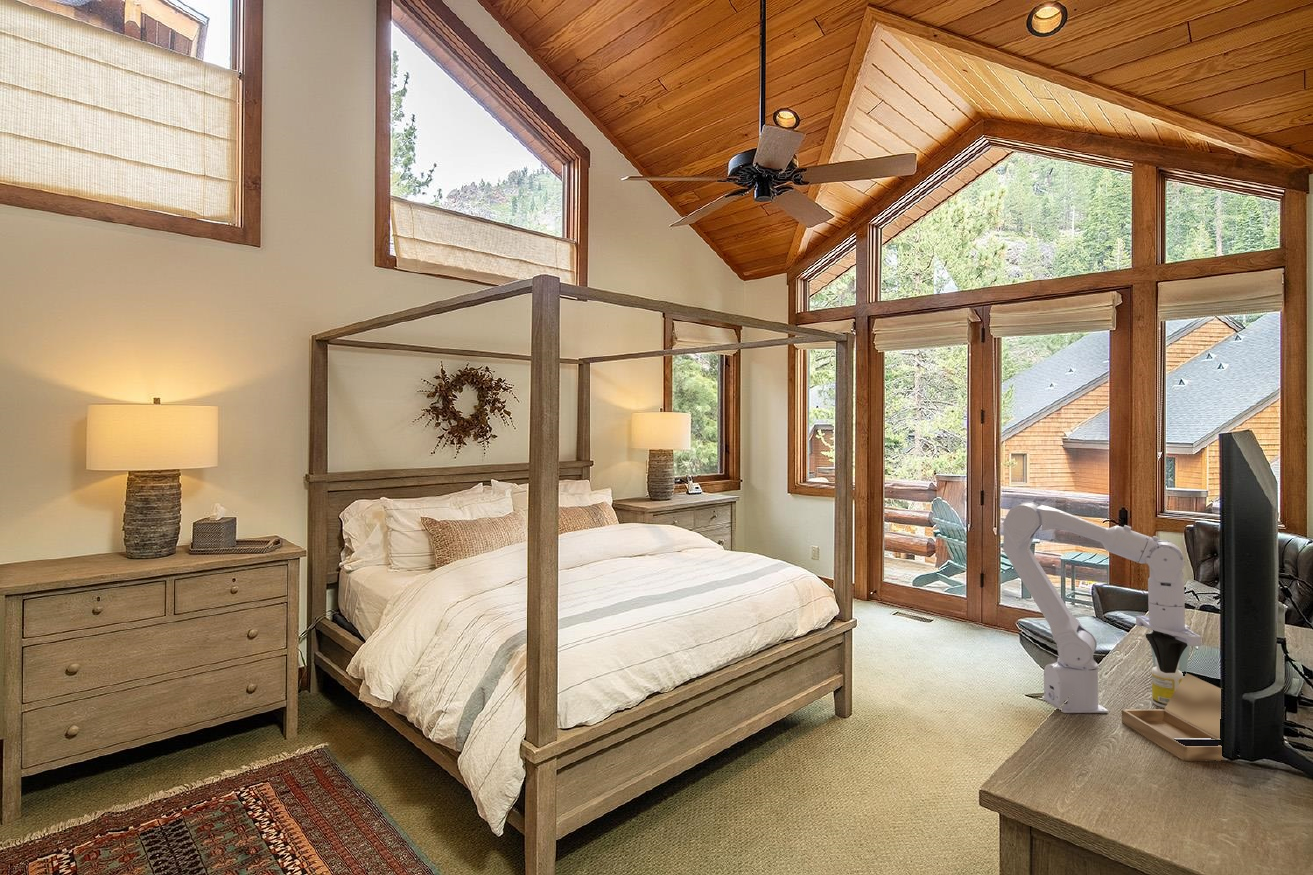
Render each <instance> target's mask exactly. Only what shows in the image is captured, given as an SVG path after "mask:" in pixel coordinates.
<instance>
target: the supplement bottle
mask: <svg viewBox="0 0 1313 875" xmlns="http://www.w3.org/2000/svg"><path fill="white" fill-rule="evenodd" d="M1155 663H1156V665H1157V666H1156V667H1154V666H1153V667H1152V668H1151V695H1152V696H1151V698H1152V703H1153V704H1154V705H1155V706H1158V707H1160V708H1163V709H1165V707H1166V705H1167V704H1168V702H1169V700H1170V699H1171V697H1172V695H1173V694H1174V692H1175V691H1176V689H1177V687H1178V686H1179V684H1180V682H1181V681H1182V679H1183V677H1184V676H1183V673H1182V672H1181V671H1179V670H1178V668H1179V662H1178V665H1177V669H1176V672H1175V673H1164V672H1162V671H1160V668H1159V665H1158V662H1157V658H1155Z"/></svg>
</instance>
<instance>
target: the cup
mask: <svg viewBox="0 0 1313 875" xmlns="http://www.w3.org/2000/svg"><path fill="white" fill-rule="evenodd" d="M1152 632H1153V631H1150V632H1149V633H1148V634H1151V633H1152ZM1190 647H1191V646H1189V645H1188V646H1187V647H1186V648H1185V650H1184V651H1183V653H1182V655H1181V657H1180V659H1179V668H1178V670H1179V671H1181V672H1184V671H1186V672H1187V669H1188V662H1189V655H1190V654H1189V652H1190ZM1150 650H1151V658H1152V663H1153V668H1154V667H1156V666H1157V665H1156V663H1155V658H1156V656H1155V653H1154V650H1153V648H1152V646H1151V645H1150Z"/></svg>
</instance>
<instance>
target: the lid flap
mask: <svg viewBox="0 0 1313 875" xmlns="http://www.w3.org/2000/svg"><path fill="white" fill-rule="evenodd" d="M1221 689H1222V688H1221V687H1219V686H1217V685H1214V684H1212V683H1209V682H1207V681H1205V680H1202V679H1200V678H1198V677H1197V676H1194V675H1192V674H1189V673H1187V672H1186V674H1185V676H1184V677H1183V679H1182V681H1181V682H1180V684H1179V686H1178V687H1177V689H1176V691H1175V692H1174V694H1173V695H1172V697H1171V699H1170V700H1169V702H1168V704H1167V705H1166V707H1165V708H1164V709H1165V710H1167V711H1168V712H1170V713H1172V714H1174V715H1176V716H1178V717H1179V718H1181V719H1183V720H1185V721H1187V722H1189V723H1190V724H1192V725H1194V726H1196V727H1198V728H1200V729H1201V730H1203V731H1205V732H1207V733H1209V734H1211V735H1212V736H1214V737H1216V738H1218V739H1220V719H1221ZM1220 740H1221V739H1220Z"/></svg>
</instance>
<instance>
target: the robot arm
mask: <svg viewBox="0 0 1313 875" xmlns="http://www.w3.org/2000/svg"><path fill="white" fill-rule="evenodd" d="M1002 525H1003V542H1002V544H1003V546H1002V548H1003V553H1004V554H1005V556H1006V557H1007V559H1008V560H1009V562H1010V563H1011V565H1012V567H1013V569H1014V570H1015V571H1016V574H1017V575H1018V576H1019V578H1020V579H1021V581H1022V583H1023V585H1024V586H1025V588H1026V589H1027V591H1028V593H1029V594H1030V596H1031V598H1032V599H1033V601H1034V603H1035V604H1036V606H1037V607H1038V609H1039V611H1040V612H1041V614H1042V615H1043V617H1044V619H1045V620H1046V622H1047V623H1048V626H1049V627H1050V628H1049V629H1050V631H1051V635H1052V637H1053V639H1054V641H1055V644H1056V648H1057V654H1058V657H1057V661H1056V662H1053V663H1048V664H1046V665H1045V667H1044V669H1043V696H1041V699H1042V700H1044V701H1045V702H1047V703H1048V704H1049V705H1051V706H1053V707H1054V708H1056V709H1057V710H1058V708H1059V707H1060V706H1061V705H1062V704H1063V703H1064V702H1065V701H1066V700H1067V699H1068V701H1067V702H1066V703H1064V705H1063V706H1061V708H1062V710H1061V709H1060V710H1061V711H1060V710H1059V711H1060V712H1062V713H1064V714H1083V713H1084V714H1085V713H1086V714H1089V713H1090V714H1091V713H1092V714H1097V713H1099V714H1100V713H1103V714H1106V713H1107V714H1108V713H1109V710H1108V708H1105V707H1104V706H1103V705H1100V704H1099V671H1098V670H1099V668H1098V667H1099V666H1098V663H1097V662H1096V660H1095V659H1094V654H1095V652H1096V650H1097V640H1096V638H1095V636H1094V634H1093V633H1092V632H1090V631H1089V630H1087V629H1086V628H1085V627H1084V626H1082V624H1081V623H1080V621H1079V620H1078V619H1077V618H1076V617H1075V616H1074V615H1073V614H1072V612H1071V611H1070V610H1069V608H1068V606H1067V605H1066V603H1065V602H1064V599H1062V597H1061V596H1060V594H1059V592H1058V591H1057V589H1056V588H1055V586H1054V584H1053V583H1052V581H1051V580H1050V578H1049V576H1048V575H1047V573H1046V572H1045V570H1044V569H1043V567H1042V565H1041V564H1040V562H1039V560H1038V558H1036V556H1035V554H1034V553H1033V551H1032V549H1031V545H1032V544H1033V540H1034V538H1035V535H1036V533H1037V532H1038V531H1039V530H1040V528H1041V530H1042V531H1049V530H1055V529H1056V530H1057V529H1060V530H1063V531H1066V532H1068V533H1072V534H1075V535H1078V536H1081V537H1084V538H1086V539H1089V540H1093V541H1095V542H1099V543H1101V544H1102V546H1103V548H1104V550H1105V551H1106V552H1108V553H1111V554H1114V555H1117V556H1119V557H1121V558H1124V559H1127V560H1130V561H1133V562H1135V563H1138V564H1142V565H1143V564H1147V566H1148V567H1149V577H1148V579H1147V593H1148V595H1147V596H1148V597H1147V598H1148V601H1147V602H1148V615H1136V616H1135V624H1136V626H1137V627H1143V628H1147V629H1150V630H1152V631H1151V632H1152V633H1151V634H1149V633H1145V638H1146V640H1147V641H1148V643H1149V645H1150V647H1151V646H1152V648H1153V650H1154V653H1155V656H1156V658H1157V662H1158V665H1159V668H1160V671H1162V672H1164V673H1175V672H1176V669H1177V665H1178V662H1179V659H1180V657H1181V655H1182V653H1183V651H1184V650H1185V648H1186V647H1187V646H1188V645H1189V646H1190V647H1202V635H1199V634H1196V633H1195V632H1193V631H1192V630H1191V626H1190V625H1187V624H1186V613H1185V612H1186V611H1185V610H1186V609H1185V608H1186V606H1185V604H1186V603H1185V602H1186V601H1185V598H1186V597H1185V582H1184V580H1183V579H1184V571H1183V568H1184V566H1185V564H1186V561H1185V560H1184V559H1185V557H1184V552H1183V551H1182V550H1181V548H1180V547H1179V546H1178V545H1176V544H1174V543H1173V542H1170V540H1168V539H1167V540H1166V539H1160V537H1158V536H1156V535H1153V536H1152V537H1151V536H1149V535H1146V534H1144V533H1143V534H1142V533H1140V532H1137V531H1135V530H1132V526H1130V525H1126V524H1124V526H1121V525H1120V526H1119V525H1115V526H1111V527H1105V526H1102V525H1099V524H1097V523H1094V522H1092V521H1089V520H1087V519H1084V518H1081V517H1079V516H1076V515H1074V514H1072V513H1068V512H1066V511H1063V510H1060V509H1058V508H1054V507H1052V506H1048V505H1043V504H1041V505H1040V504H1038V503H1036V502H1033V501H1024V502H1021V503H1019V504H1018V505H1014V506H1012V508H1010V509H1009V510H1008V512H1007V514H1006V515H1005V518H1004V520H1003V523H1002ZM1072 694H1073V695H1072ZM1069 696H1070V697H1069ZM1068 697H1069V698H1068Z"/></svg>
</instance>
